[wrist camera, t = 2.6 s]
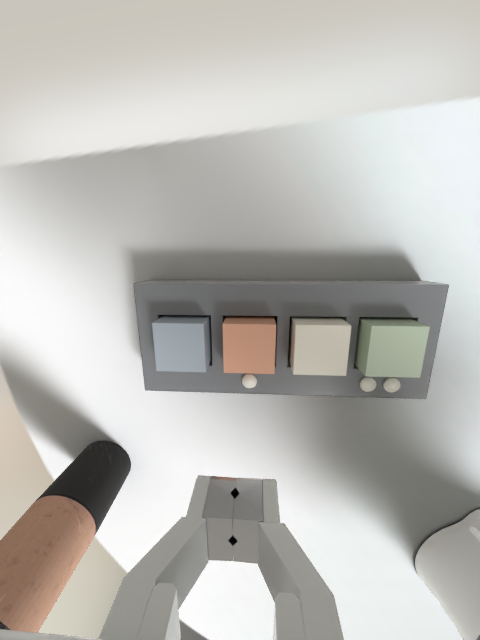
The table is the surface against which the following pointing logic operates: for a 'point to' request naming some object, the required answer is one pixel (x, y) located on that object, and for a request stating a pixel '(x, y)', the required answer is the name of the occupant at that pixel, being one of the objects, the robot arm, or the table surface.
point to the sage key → (390, 346)
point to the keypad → (288, 330)
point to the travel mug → (57, 535)
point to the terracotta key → (249, 344)
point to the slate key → (182, 343)
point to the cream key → (319, 345)
